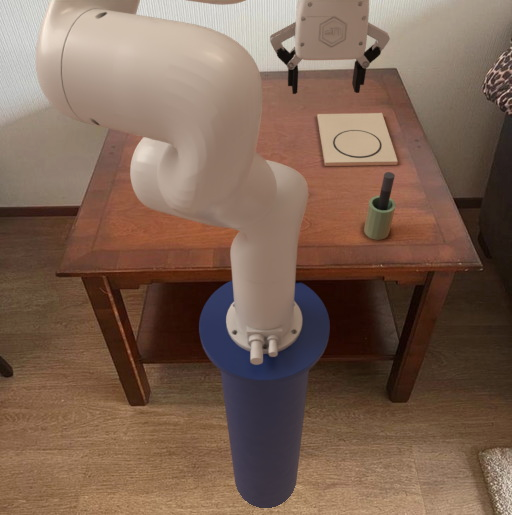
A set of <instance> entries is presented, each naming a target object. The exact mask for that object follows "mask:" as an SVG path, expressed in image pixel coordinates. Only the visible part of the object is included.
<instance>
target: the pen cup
mask: <svg viewBox="0 0 512 515" xmlns="http://www.w3.org/2000/svg"><path fill="white" fill-rule="evenodd" d="M379 197H380V194H378V195H374V196H372V197H370V198H369V201H368V206H367V210H366V216H365V221H364V227H363V232H364V234H365V235H366V237H368V238H369V239H372V240H376V241H380V240H381V241H382V240H384V239H386V238H388V237H389V235H390V231H391V228H392V223H393V219H394V215H395V211H396V207H397V205H396V201H395V200H394V199H393V198H392V197H390V199H389V203H388V208H387V210H378V209H377V207H378V202H379Z"/></svg>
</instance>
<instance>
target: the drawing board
mask: <svg viewBox="0 0 512 515" xmlns="http://www.w3.org/2000/svg"><path fill="white" fill-rule="evenodd" d="M316 119H317V124H318V131H319V138H320V144H321V150H322V156H323V162H324V166H325V167H348V166H349V167H352V166H354V167H355V166H356V167H360V166H397V165H398V163H399V162H398V158H397V155H396V151H395V148H394V145H393V142H392V139H391V136H390V132H389V130H388V127H387V124H386V121H385V118H384V114H383V112H367V113H365V112H363V113H361V112H359V113H358V112H357V113H317V116H316Z"/></svg>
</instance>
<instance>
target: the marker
mask: <svg viewBox="0 0 512 515" xmlns="http://www.w3.org/2000/svg"><path fill="white" fill-rule="evenodd" d="M395 177H396V176H395V174H394V173H393V172H391V171H386V172H385V173H383V179H382V183H381V188H380V193H379V195H380V197H379V202H378V207H377V209H378V210H387V208H388V203H389V199H390V198H391V194H392V190H393V184H394V182H395Z"/></svg>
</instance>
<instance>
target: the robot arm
mask: <svg viewBox="0 0 512 515" xmlns="http://www.w3.org/2000/svg"><path fill="white" fill-rule="evenodd" d="M186 1H188V2H195V3H201V4H209V5H218V6H219V5H221V6H223V5H224V6H225V5H234V4H235V5H236V4H239V3H242V2H245V1H246V0H186ZM140 3H141V0H49V2H48V4H47V7H46V10H45V12H44V16H43V19H42V22H41V24H40V28H39V32H38V36H37V42H36V47H35V72H36V76H37V80H38V84H39V86H40V90H41V91H42V93H43V95H44V97H45V98H46V99H47V101H48V102H49V104H51V105H52V107H54V108H55V109H56V110H57V111H58V112H59V113H61V114H63V115H64V116H66V117H68V118H71V119H72V120H75V121H78V122H80V123H83V124H86V125H87V124H88V125H91V126H96V127H100V128H104V129H108V130H113V131H116V132H120V133H126V134H129V135H134V136H137V137H141V140H140V141H139V142H138V144H137V145H136V147H135V149H134V151H133V154H132V157H131V160H130V161H131V162H130V167H129V168H130V169H129V175H130V183H131V186H132V190H133V192H134V195H135V197H136V198H137V199H138V200H139V202H140V203H141V204H142V205H143V206H145V207H146V208H147V209H150V210H152V211H156V212H160V213H163V214H166V215H169V216H173V217H176V218H177V217H178V218H181V219H183V220H187V221H188V220H189V221H192V222H195V223H199V224H203V225H208V226H211V227H212V226H213V227H218V228H224V229H225V228H226V229H232V230H235V231H238V232H237V234H236V235H235V236H234V237H233V240H232V243H231V245H230V252H229V255H230V266H231V281H233V293H234V302H233V303H232V304H231V306H230V308H229V310H228V312H227V316H226V325H227V330H228V333H229V335H230V337H231V339H232V340H233V341H234V342H235V343H236V344H237V345H238V346H240V347H241V348H243V349H245V350H247V351H249V352H250V362H251V363H252V364H254V365H259V364H261V363H263V354H269V356H271V357H276V356H277V355H278V352H279V351H282V350H284V349H286V348H287V347H289V346H291V345H292V344H293V343H294V342H295V341H296V339H297V338H298V336H299V335H300V332H301V329H302V313H301V310H300V308H299V306H298V305H297V304H296V302H295V301H294V295H295V282H296V277H297V260H298V249H299V248H298V247H299V238H300V233H301V228H302V224H303V220H304V217H305V214H306V210H307V206H308V202H309V186H308V182H307V180H306V178H305V177H304V175H303V174H301V173H300V172H299V171H297V170H296V169H295V168H293V167H291V166H289V165H286V164H283V163H281V162H277V161H274V160H269V159H265V158H264V157H263V155H261V154H260V153H259V152H258V151H257V146H258V142H259V135H260V130H261V124H262V123H261V122H262V114H263V105H264V88H263V80H262V77H261V73H260V69H259V67H258V65H257V62H256V60H255V59H254V58H253V56H252V55H251V53H250V52H249V51H248V50H247V49H246V48H245V47H244V46H243V45H241V44H240V43H239V42H238V41H236V40H235V39H234V38H232V37H230V36H228V35H227V34H225V33H222V32H220V31H218V30H215V29H212V28H209V27H207V26H202V25H199V24H196V23H189V22H184V21H178V20H173V19H167V18H162V17H161V18H160V17H155V16H147V15H140V14H137V13H138V9H139V6H140ZM369 15H370V0H297V4H296V11H295V21H294V22H292V23H291V24H289V25H287V26H285V27H283V28H281V29H280V30H277V31H276V32H274V33H273V34H271V35H270V36H269V42H270V45H271V46H272V48H273V50H274V52H275V54H276V56H277V58H278V59H279V60H280V61H281V62H282V63H283V64H284V65H285V66H286V67H287V87H291V92H292V95H296V94H298V87H299V86H298V85H299V64H300V63H301V62H302V61H303V60H304V61H347V60H351V61H352V60H354V65H353V72H352V73H353V74H352V81H351V84H352V88H353V92H354V93H355V94H359V93H360V92H361V86H364V85H365V81H366V80H365V79H366V73H367V69H368V68H369V67H370V64H371V63H372V62H373V61H375V60H376V59H377V58H378V57H379V56H381V53H382V51H383V50H384V49H385V47H386V46H387V44H389V41H390V39H391V38H390V35H389V33H388V32H387V31H385V30H383V29H381V28H379V27H377V26H376V25H374V24H373V23H370V22H369ZM368 36H369V37H370V38H372V39H374V40H375V42H374V44H372V45H370V46H369V47H368V49H366V48H367V41H368ZM292 37H294V47H293V48H292V49H291V50H290V51H288V50H287V49H286V48H285V46H284V45H283V42H285V41H287V40H289V39H290V38H292Z"/></svg>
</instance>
